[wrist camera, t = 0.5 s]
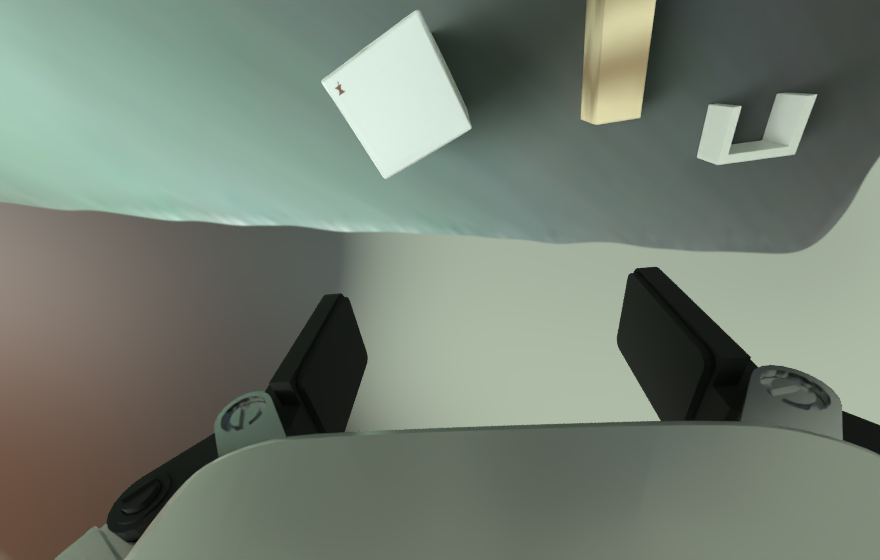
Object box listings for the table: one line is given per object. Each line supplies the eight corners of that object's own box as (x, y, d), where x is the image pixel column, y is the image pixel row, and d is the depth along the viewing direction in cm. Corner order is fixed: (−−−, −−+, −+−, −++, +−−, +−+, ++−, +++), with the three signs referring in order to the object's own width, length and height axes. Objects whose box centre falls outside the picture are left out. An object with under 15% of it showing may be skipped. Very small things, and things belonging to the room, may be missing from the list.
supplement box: (406, 149, 35) (381, 183, 24) (364, 76, 31) (315, 78, 21) (470, 111, 33) (474, 130, 22) (432, 29, 29) (416, 3, 19)
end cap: (708, 104, 31) (732, 107, 28) (785, 92, 30) (817, 94, 28) (696, 157, 34) (717, 164, 31) (767, 147, 33) (794, 154, 30)
